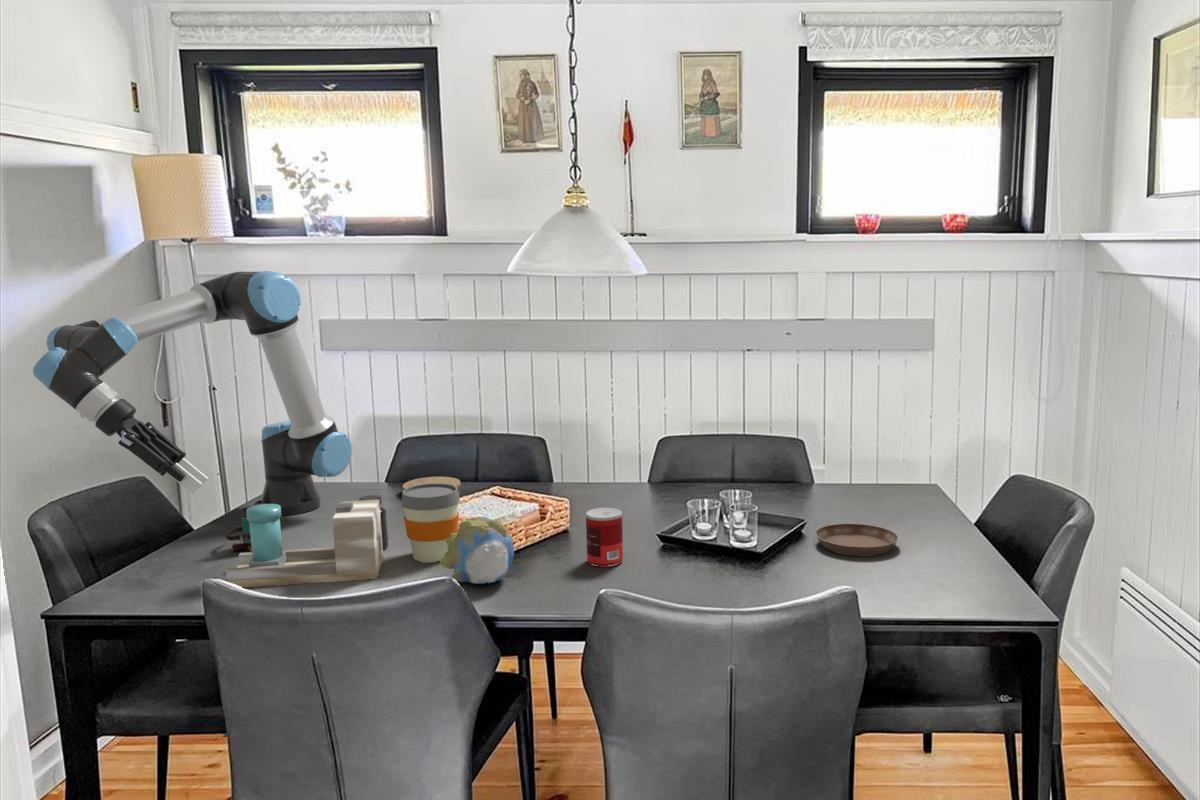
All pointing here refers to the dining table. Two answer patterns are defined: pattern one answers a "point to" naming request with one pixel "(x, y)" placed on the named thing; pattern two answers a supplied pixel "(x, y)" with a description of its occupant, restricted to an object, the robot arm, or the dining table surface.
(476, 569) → the decorative rock
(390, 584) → the dining table surface
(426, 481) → the tan shallow dish
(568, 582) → the dining table surface
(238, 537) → the binoculars
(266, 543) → the knob slider
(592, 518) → the canned food
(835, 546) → the plant saucer
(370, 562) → the knob mount
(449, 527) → the reusable coffee cup
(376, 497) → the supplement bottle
